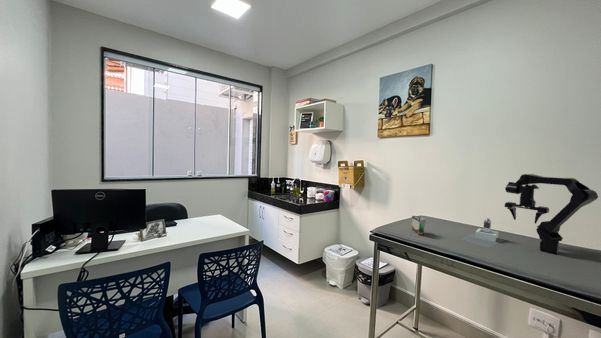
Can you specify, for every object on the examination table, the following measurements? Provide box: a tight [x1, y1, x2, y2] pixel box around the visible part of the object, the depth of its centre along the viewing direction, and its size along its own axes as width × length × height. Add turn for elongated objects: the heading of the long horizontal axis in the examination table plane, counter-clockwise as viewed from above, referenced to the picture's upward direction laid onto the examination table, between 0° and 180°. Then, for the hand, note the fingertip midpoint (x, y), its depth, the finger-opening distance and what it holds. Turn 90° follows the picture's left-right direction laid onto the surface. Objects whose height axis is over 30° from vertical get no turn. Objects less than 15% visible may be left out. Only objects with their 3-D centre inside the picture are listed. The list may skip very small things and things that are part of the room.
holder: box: [474, 228, 499, 242], centre depth 153 cm, size 10×10×4 cm
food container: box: [411, 215, 427, 236], centre depth 162 cm, size 12×6×10 cm, turn 179°
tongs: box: [483, 218, 492, 234], centre depth 153 cm, size 3×4×12 cm
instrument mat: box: [457, 232, 506, 249], centre depth 151 cm, size 16×26×1 cm, turn 124°
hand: (524, 221), depth 145 cm, fingers open, 9 cm apart
